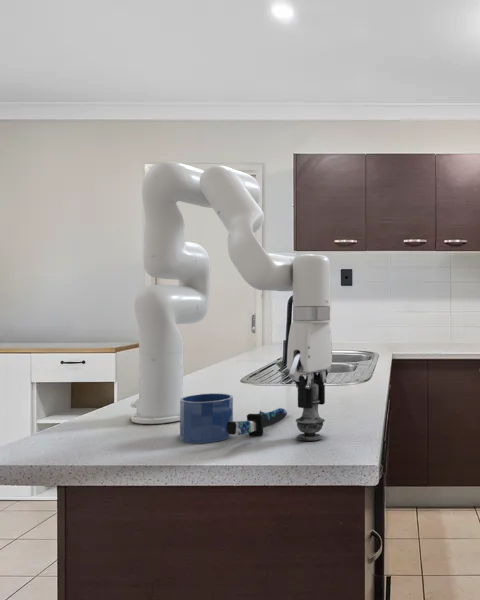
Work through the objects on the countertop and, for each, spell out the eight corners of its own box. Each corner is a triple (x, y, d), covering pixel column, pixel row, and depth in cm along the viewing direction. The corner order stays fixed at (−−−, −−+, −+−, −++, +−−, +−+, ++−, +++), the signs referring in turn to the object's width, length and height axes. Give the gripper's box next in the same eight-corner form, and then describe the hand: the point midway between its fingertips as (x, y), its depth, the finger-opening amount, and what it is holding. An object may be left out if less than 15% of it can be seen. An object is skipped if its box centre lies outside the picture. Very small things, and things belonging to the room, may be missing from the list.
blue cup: (169, 440, 103) (169, 399, 103) (206, 428, 112) (206, 392, 112) (207, 445, 99) (207, 404, 99) (242, 433, 108) (242, 395, 108)
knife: (231, 445, 94) (233, 420, 95) (216, 444, 95) (218, 419, 95) (296, 425, 124) (297, 406, 125) (284, 424, 125) (286, 405, 125)
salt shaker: (329, 436, 106) (331, 377, 107) (315, 442, 101) (317, 380, 101) (303, 433, 108) (306, 376, 109) (289, 439, 103) (291, 378, 103)
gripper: (318, 314, 114) (318, 397, 114) (270, 316, 99) (270, 412, 99) (348, 314, 111) (348, 400, 111) (303, 316, 96) (303, 415, 96)
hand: (311, 404), depth 105 cm, fingers closed on salt shaker, 3 cm apart
